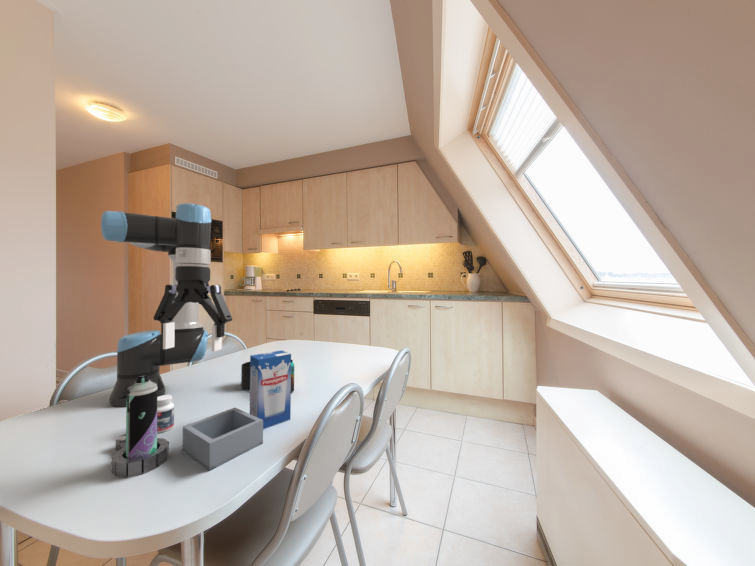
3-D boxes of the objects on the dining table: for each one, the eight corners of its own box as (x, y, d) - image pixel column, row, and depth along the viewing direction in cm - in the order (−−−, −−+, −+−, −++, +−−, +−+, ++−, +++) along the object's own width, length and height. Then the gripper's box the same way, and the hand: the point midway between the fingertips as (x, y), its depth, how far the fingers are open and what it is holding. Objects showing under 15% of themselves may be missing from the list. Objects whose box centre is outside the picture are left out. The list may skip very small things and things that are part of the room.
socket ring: (96, 454, 68) (96, 442, 68) (146, 436, 76) (147, 425, 76) (120, 483, 59) (121, 469, 59) (175, 459, 67) (175, 446, 67)
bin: (182, 450, 70) (182, 426, 70) (234, 428, 81) (234, 407, 81) (209, 470, 63) (210, 443, 63) (262, 443, 74) (263, 420, 74)
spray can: (139, 472, 62) (140, 380, 62) (119, 468, 63) (120, 378, 63) (162, 457, 68) (163, 372, 68) (143, 454, 69) (144, 371, 69)
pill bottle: (148, 435, 77) (148, 402, 77) (153, 426, 82) (153, 395, 82) (172, 431, 80) (172, 399, 80) (175, 422, 84) (175, 392, 84)
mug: (247, 394, 106) (247, 370, 106) (238, 385, 115) (238, 363, 115) (272, 388, 112) (273, 365, 112) (262, 380, 121) (262, 359, 121)
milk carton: (281, 412, 91) (281, 350, 91) (290, 419, 87) (291, 353, 87) (249, 423, 84) (249, 355, 84) (257, 431, 80) (258, 359, 80)
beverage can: (275, 397, 104) (275, 364, 104) (274, 390, 110) (274, 359, 110) (295, 394, 106) (295, 362, 106) (292, 388, 113) (293, 357, 113)
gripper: (136, 265, 71) (135, 350, 71) (228, 265, 68) (227, 354, 68) (162, 266, 78) (162, 344, 78) (247, 266, 75) (246, 347, 75)
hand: (192, 349), depth 73 cm, fingers open, 13 cm apart
